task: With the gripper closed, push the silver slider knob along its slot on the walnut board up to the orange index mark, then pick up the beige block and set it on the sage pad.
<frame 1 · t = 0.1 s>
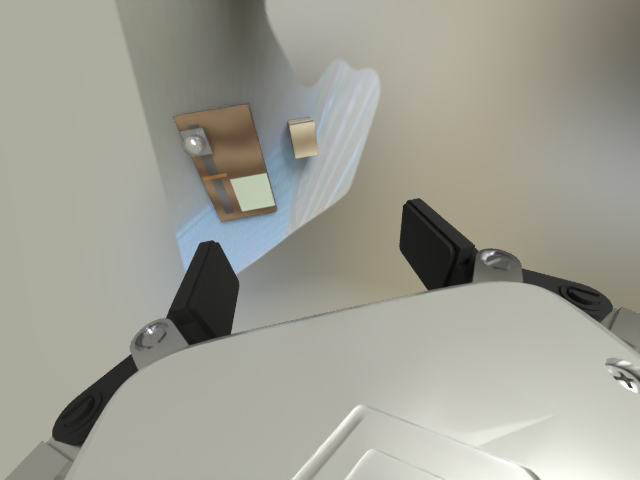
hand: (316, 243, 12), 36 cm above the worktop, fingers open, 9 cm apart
beige block: (301, 133, 42), on the worktop
silver slider knob: (195, 143, 37), point 4 cm above the worktop, slide at 0.0 cm
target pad: (254, 189, 47), resting on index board
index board: (233, 168, 44), on the worktop
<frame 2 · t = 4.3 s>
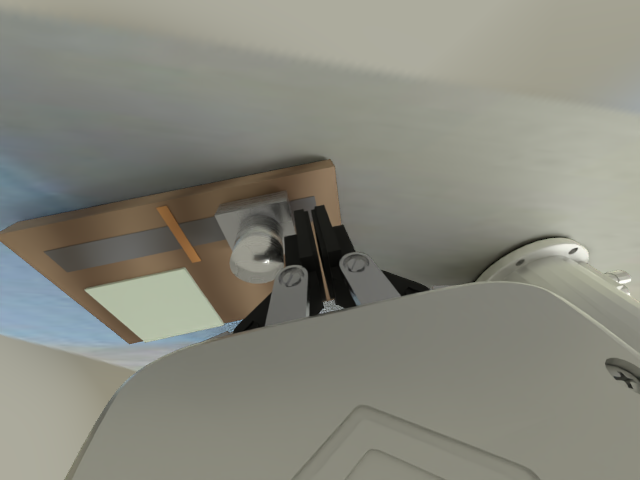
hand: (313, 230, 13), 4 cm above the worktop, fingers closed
silver slider knob: (260, 241, 13), point 4 cm above the worktop, slide at 1.1 cm, touching gripper
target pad: (170, 293, 19), resting on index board
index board: (216, 259, 18), on the worktop
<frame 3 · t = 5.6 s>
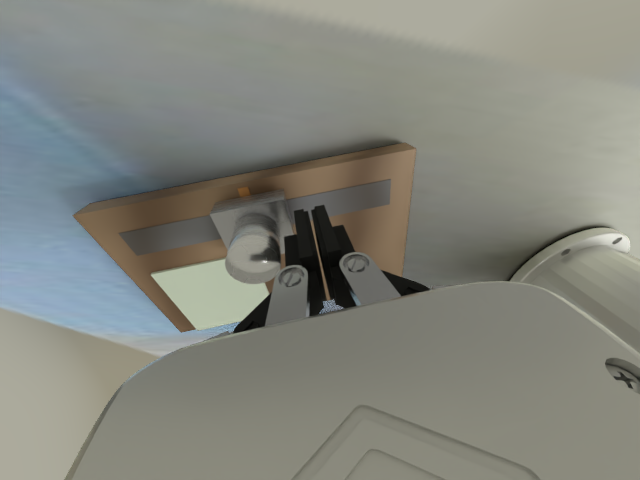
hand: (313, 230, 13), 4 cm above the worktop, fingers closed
silver slider knob: (256, 240, 13), point 4 cm above the worktop, slide at 6.2 cm
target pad: (225, 280, 19), resting on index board
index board: (276, 245, 18), on the worktop
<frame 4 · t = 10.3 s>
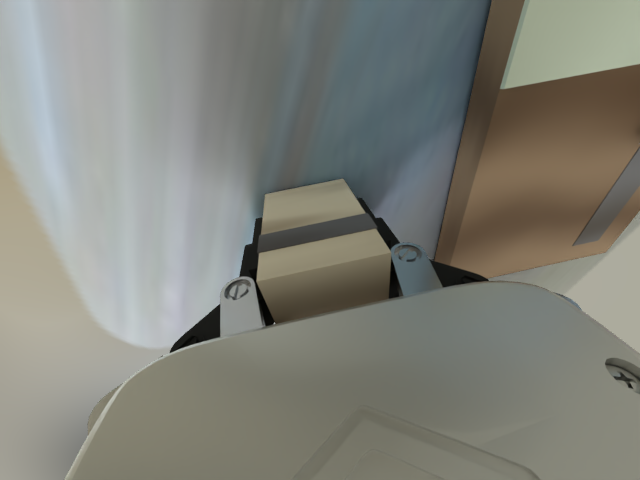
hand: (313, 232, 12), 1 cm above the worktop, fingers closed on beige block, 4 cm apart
beige block: (312, 227, 13), on the worktop, touching gripper
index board: (581, 102, 11), on the worktop
when the fingers open (4 cm above the worktop, at t = 16.1 s): beige block drops 1 cm, resting on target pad.
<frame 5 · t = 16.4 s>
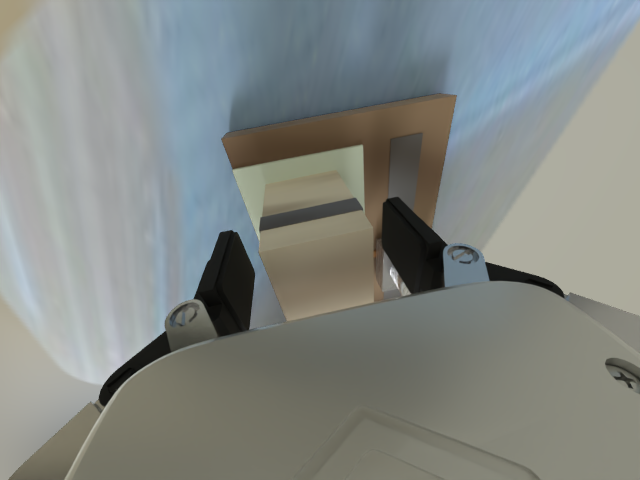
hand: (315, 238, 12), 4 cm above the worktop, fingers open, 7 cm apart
beige block: (309, 215, 14), point 2 cm above the worktop, touching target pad
silver slider knob: (412, 274, 15), point 4 cm above the worktop, slide at 6.2 cm
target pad: (306, 202, 15), resting on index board
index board: (347, 250, 18), on the worktop
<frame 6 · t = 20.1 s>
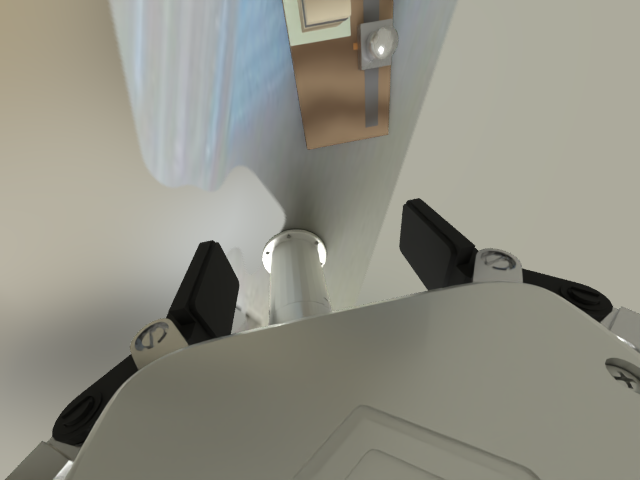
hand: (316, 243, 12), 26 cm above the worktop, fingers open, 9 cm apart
silver slider knob: (378, 44, 25), point 4 cm above the worktop, slide at 6.2 cm
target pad: (314, 1, 25), resting on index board
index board: (340, 55, 28), on the worktop
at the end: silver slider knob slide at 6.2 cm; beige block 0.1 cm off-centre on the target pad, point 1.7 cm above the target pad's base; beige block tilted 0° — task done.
